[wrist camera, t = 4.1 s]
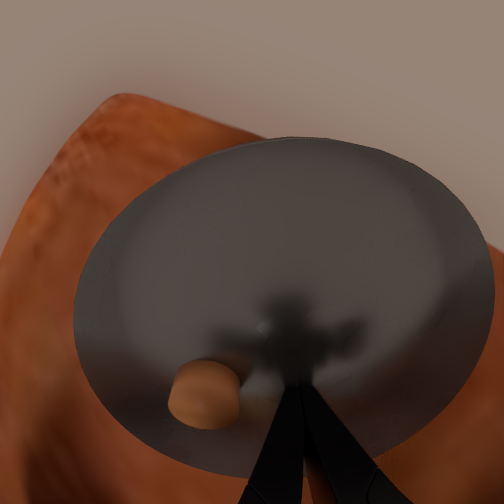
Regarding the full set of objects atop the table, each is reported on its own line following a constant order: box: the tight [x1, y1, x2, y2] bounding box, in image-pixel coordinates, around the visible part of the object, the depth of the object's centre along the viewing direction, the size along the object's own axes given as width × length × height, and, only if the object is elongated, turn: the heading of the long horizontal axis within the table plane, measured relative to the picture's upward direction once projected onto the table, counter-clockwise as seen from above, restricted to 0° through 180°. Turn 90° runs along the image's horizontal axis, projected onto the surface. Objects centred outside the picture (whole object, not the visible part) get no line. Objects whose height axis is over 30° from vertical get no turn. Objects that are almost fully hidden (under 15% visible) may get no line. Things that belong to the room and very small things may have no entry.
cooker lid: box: [73, 137, 495, 478], centre depth 8 cm, size 13×13×2 cm
